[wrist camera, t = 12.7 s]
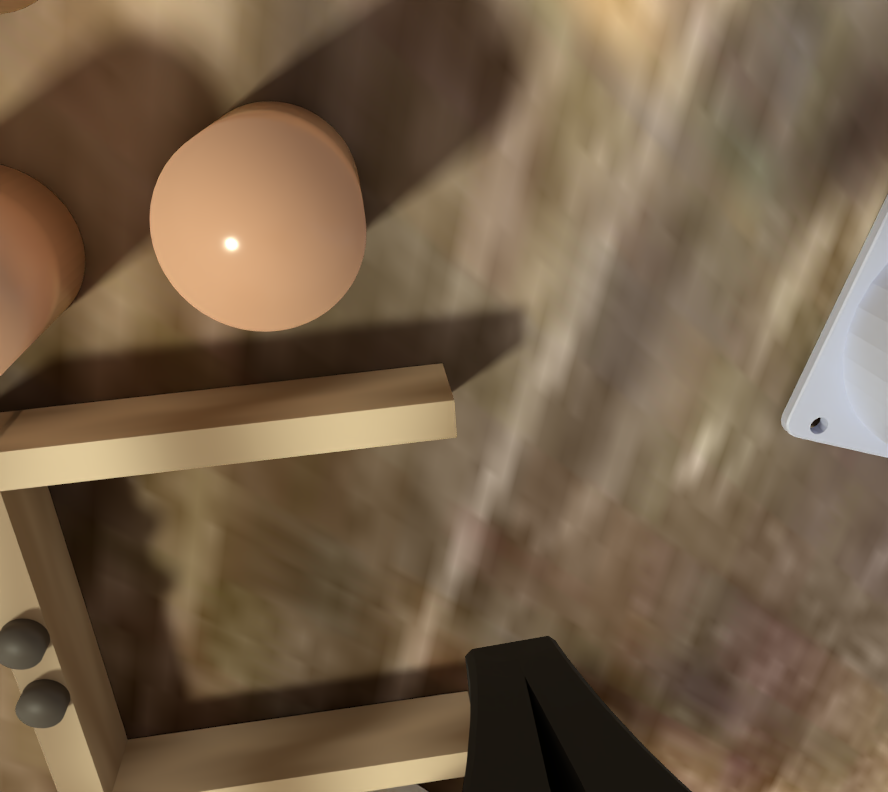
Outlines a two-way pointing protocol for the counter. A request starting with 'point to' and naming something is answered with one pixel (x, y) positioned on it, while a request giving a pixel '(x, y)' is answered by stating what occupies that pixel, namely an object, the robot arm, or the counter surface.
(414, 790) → the white cup
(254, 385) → the light wooden open frame
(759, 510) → the counter surface
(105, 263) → the counter surface
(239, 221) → the rounded peach pegs
